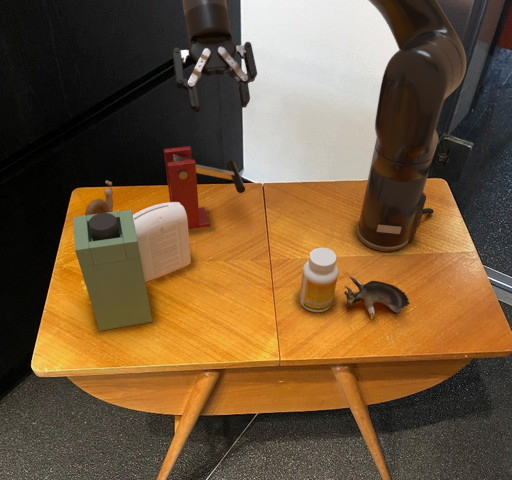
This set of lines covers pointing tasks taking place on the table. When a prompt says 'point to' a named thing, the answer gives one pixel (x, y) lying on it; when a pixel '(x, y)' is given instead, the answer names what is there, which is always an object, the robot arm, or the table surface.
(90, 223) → the button
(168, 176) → the red lever stand
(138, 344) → the table surface
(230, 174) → the wooden lever
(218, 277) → the table surface
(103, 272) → the box
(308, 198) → the table surface
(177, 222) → the photo printer
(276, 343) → the table surface
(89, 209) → the snail figurine
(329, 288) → the supplement bottle
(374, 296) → the toy triceratops
